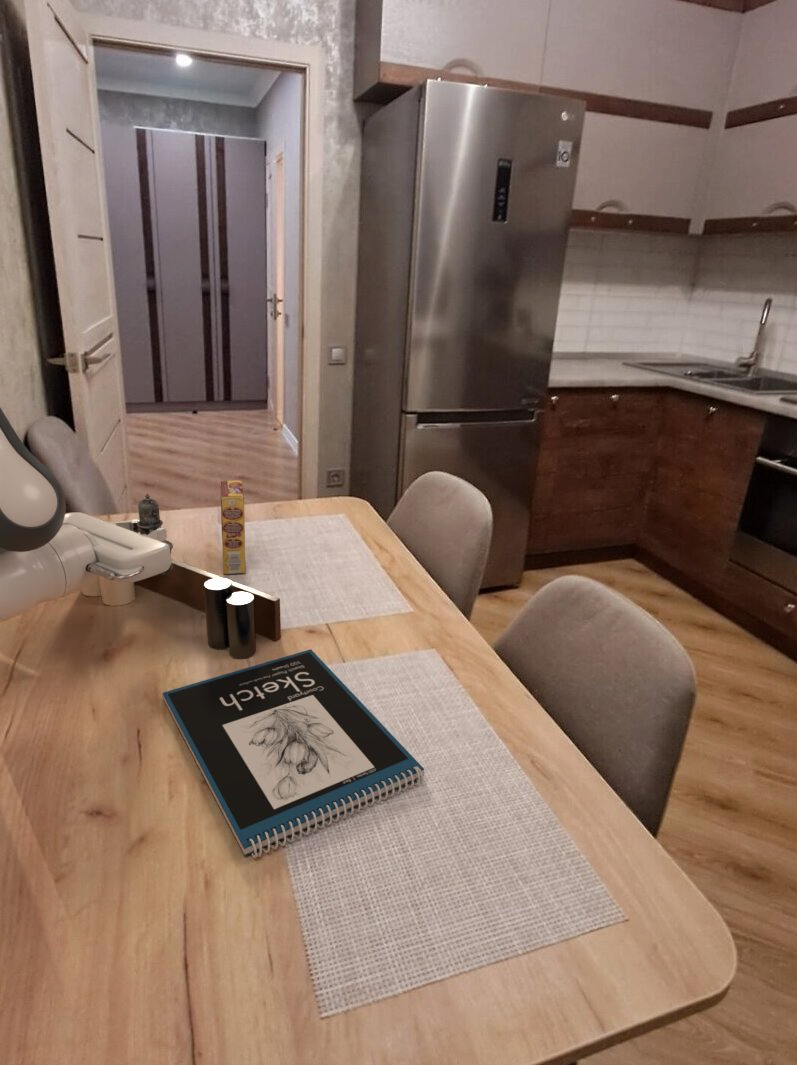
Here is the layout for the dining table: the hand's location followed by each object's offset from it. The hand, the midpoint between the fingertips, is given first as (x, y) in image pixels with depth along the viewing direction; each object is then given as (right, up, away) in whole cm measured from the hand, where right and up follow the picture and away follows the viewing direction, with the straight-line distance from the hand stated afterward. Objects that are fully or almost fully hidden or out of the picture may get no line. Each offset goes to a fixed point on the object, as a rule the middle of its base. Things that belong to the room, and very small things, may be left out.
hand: (151, 528), depth 98 cm
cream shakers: (-13, -11, +15) cm, 22 cm away
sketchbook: (+23, -26, -16) cm, 38 cm away
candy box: (+6, -7, +28) cm, 29 cm away
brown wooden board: (+2, -13, +13) cm, 18 cm away
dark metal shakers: (+11, -18, +2) cm, 21 cm away
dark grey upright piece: (0, -6, +2) cm, 7 cm away
